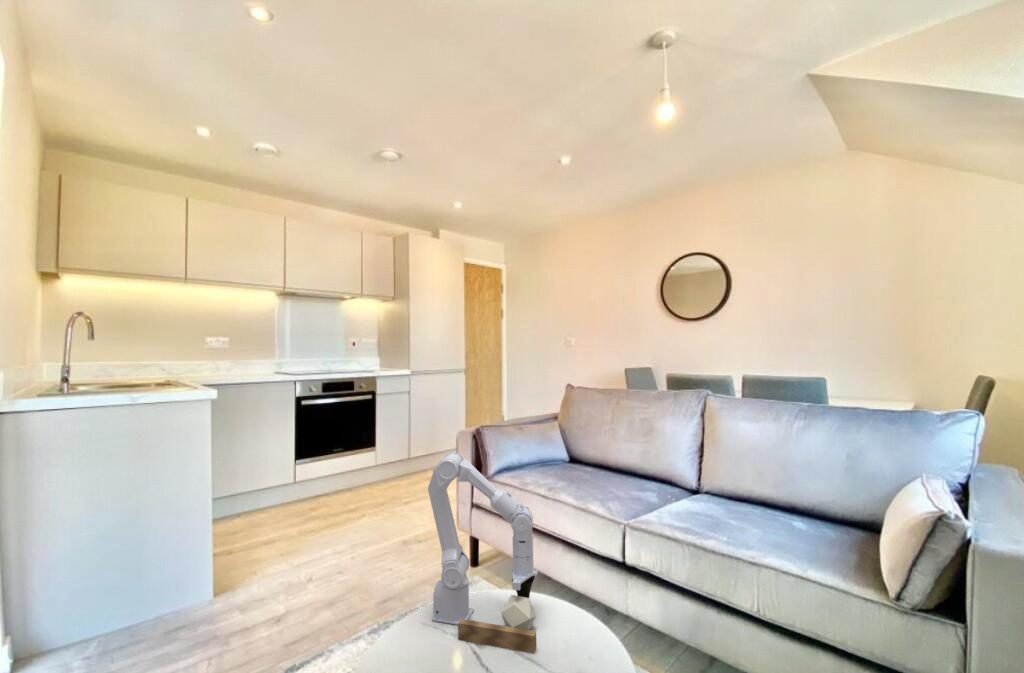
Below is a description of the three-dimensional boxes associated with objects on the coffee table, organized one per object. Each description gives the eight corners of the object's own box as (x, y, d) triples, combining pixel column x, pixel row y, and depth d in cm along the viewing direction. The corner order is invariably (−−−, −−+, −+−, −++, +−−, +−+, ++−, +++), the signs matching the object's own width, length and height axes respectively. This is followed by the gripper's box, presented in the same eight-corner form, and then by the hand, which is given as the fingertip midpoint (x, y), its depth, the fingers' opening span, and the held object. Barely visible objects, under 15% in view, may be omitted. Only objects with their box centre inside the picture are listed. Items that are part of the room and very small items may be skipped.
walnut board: (458, 639, 110) (458, 623, 110) (461, 635, 112) (461, 618, 112) (534, 653, 104) (534, 636, 104) (536, 648, 106) (536, 631, 106)
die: (540, 627, 116) (526, 589, 121) (540, 627, 109) (524, 586, 114) (512, 641, 114) (499, 602, 120) (510, 642, 107) (495, 601, 112)
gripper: (530, 566, 113) (531, 621, 111) (542, 545, 126) (543, 593, 125) (504, 563, 115) (505, 617, 114) (519, 542, 128) (520, 590, 127)
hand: (523, 604), depth 120 cm, fingers closed
